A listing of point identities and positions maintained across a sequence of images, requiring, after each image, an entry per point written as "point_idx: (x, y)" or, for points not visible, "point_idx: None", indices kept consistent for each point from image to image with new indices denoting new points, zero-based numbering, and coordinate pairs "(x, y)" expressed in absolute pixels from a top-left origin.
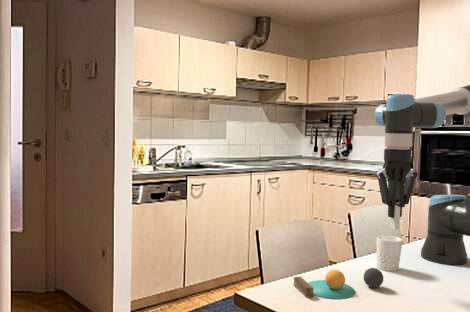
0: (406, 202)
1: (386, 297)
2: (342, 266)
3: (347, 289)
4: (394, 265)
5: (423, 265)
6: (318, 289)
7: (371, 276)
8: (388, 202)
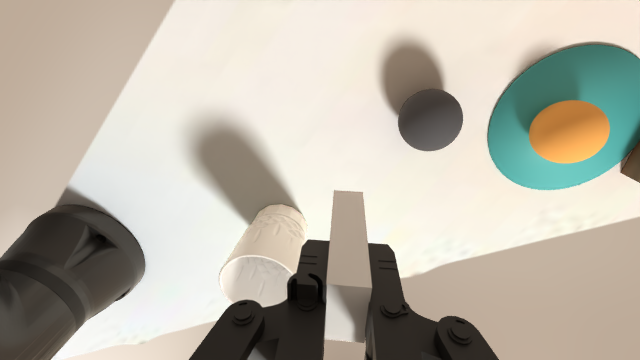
0: (252, 313)
1: (446, 25)
2: None
3: (518, 108)
4: (275, 211)
5: (172, 222)
6: None
7: (458, 104)
8: (469, 335)
